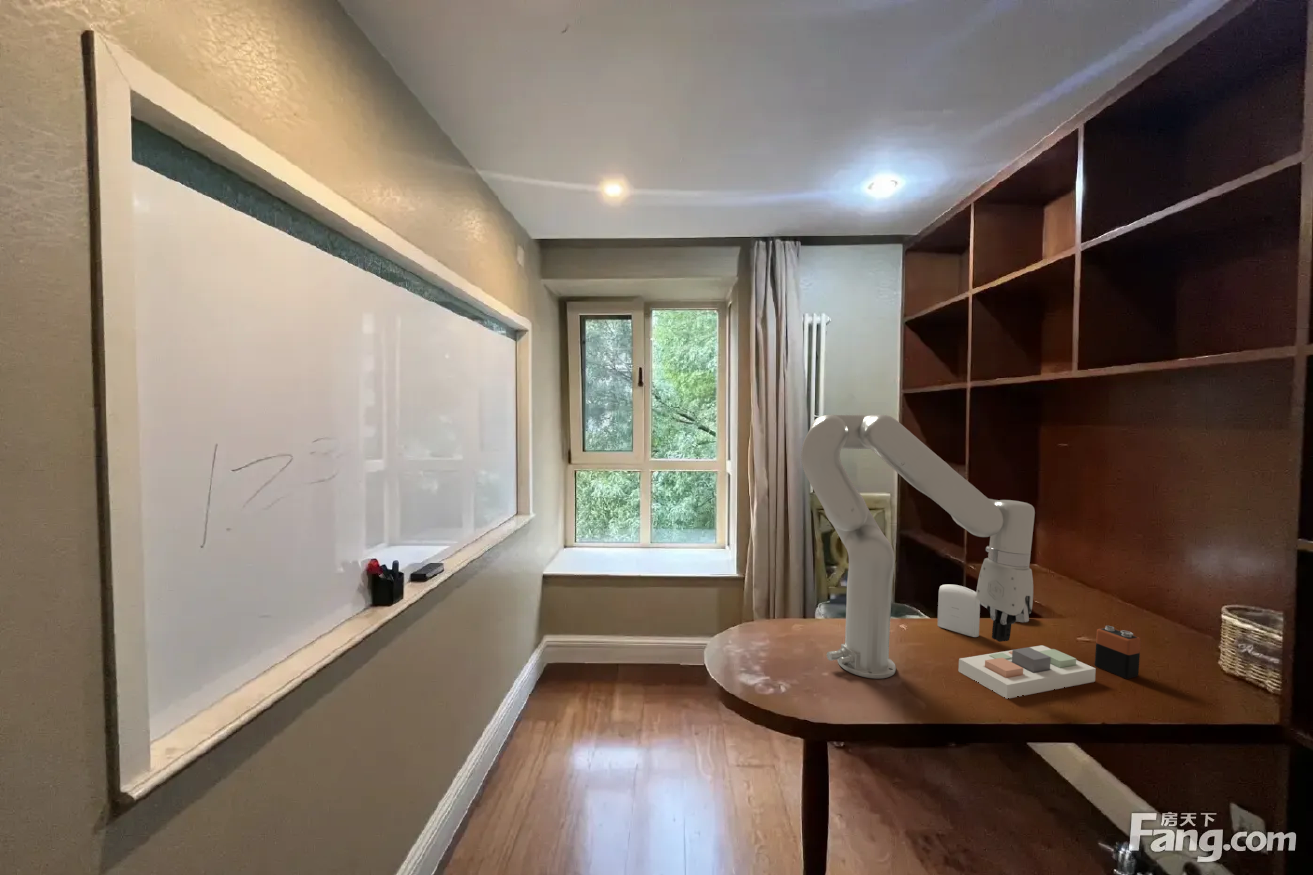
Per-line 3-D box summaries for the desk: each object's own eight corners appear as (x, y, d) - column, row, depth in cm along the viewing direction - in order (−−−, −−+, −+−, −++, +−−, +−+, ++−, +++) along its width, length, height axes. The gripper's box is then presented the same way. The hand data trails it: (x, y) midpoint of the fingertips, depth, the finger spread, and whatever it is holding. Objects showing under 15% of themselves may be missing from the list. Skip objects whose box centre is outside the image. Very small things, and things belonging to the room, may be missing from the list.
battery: (1127, 680, 120) (1129, 636, 119) (1093, 666, 126) (1096, 624, 125) (1139, 677, 121) (1142, 634, 121) (1105, 663, 127) (1108, 622, 127)
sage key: (1059, 675, 119) (1060, 661, 118) (1037, 664, 123) (1038, 651, 123) (1075, 672, 120) (1076, 658, 120) (1053, 662, 125) (1053, 648, 125)
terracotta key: (1005, 685, 114) (1005, 671, 114) (984, 674, 119) (985, 660, 118) (1022, 682, 115) (1023, 668, 115) (1001, 671, 120) (1002, 657, 120)
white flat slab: (1006, 698, 111) (1007, 683, 111) (958, 671, 122) (959, 657, 122) (1094, 681, 119) (1095, 667, 118) (1041, 657, 130) (1042, 644, 130)
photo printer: (934, 626, 148) (936, 582, 147) (941, 622, 150) (943, 579, 150) (975, 639, 140) (977, 593, 139) (981, 635, 142) (983, 589, 142)
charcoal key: (1033, 674, 116) (1033, 659, 116) (1011, 663, 121) (1012, 649, 121) (1049, 671, 118) (1050, 657, 118) (1028, 660, 122) (1028, 647, 122)
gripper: (966, 548, 122) (958, 626, 123) (1029, 569, 107) (1020, 657, 109) (991, 547, 124) (983, 624, 125) (1056, 567, 110) (1046, 654, 111)
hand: (1000, 639), depth 117 cm, fingers closed
